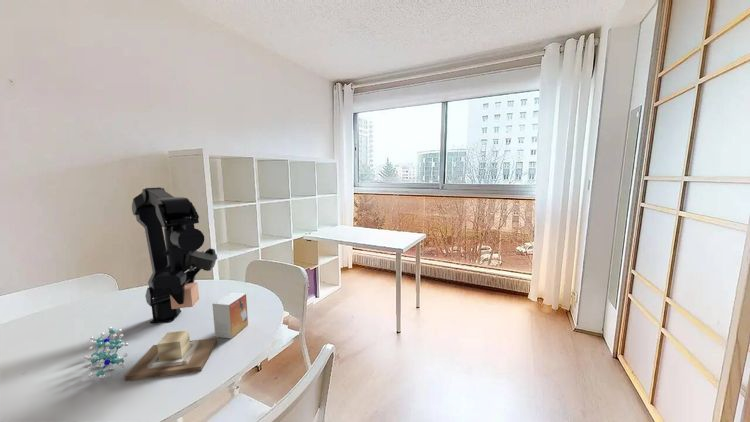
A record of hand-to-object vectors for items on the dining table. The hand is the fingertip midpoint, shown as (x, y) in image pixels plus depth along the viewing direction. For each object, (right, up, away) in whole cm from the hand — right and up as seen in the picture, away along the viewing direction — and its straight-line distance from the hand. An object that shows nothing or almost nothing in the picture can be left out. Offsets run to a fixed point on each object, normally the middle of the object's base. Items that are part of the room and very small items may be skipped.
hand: (185, 299), depth 78 cm
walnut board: (+1, -14, -5) cm, 15 cm away
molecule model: (-15, -14, -7) cm, 22 cm away
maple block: (+1, -13, -5) cm, 14 cm away
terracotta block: (0, -1, 0) cm, 1 cm away
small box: (+9, -12, +8) cm, 17 cm away
